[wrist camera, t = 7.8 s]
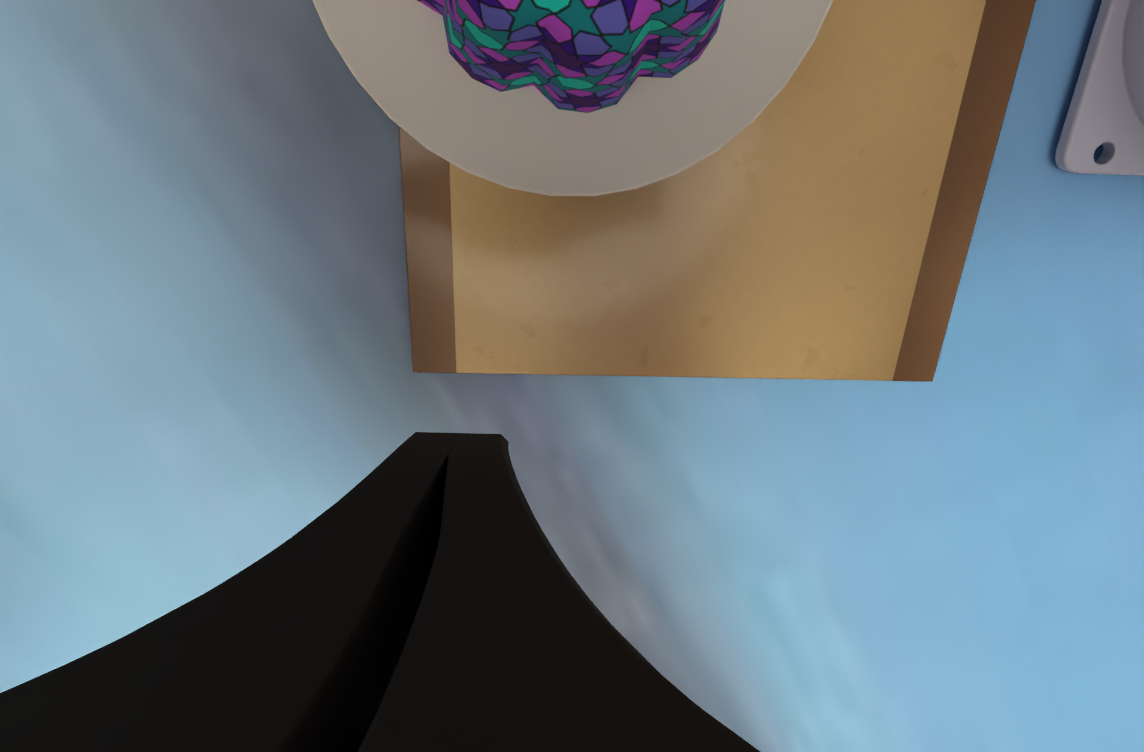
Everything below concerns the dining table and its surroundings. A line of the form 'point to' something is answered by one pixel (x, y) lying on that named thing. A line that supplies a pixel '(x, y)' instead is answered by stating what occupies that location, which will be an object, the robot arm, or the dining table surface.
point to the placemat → (741, 224)
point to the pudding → (573, 80)
